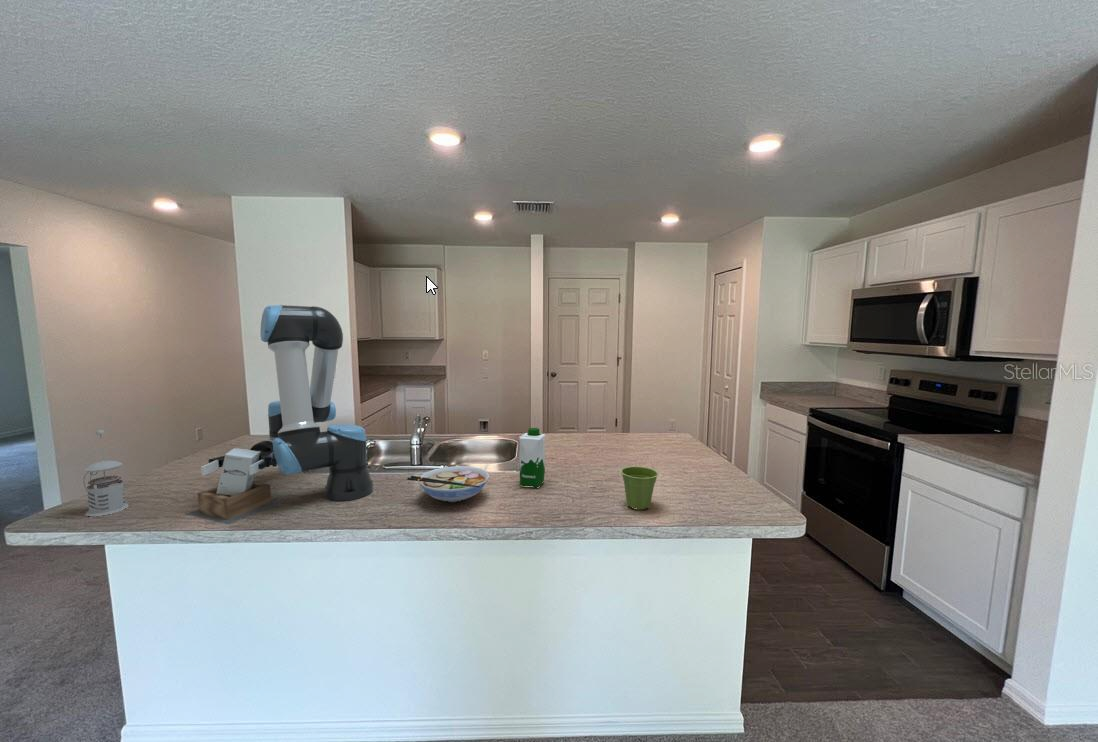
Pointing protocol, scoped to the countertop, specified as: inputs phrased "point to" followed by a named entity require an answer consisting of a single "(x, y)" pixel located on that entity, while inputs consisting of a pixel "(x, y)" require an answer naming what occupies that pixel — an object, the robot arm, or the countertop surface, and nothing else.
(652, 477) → the plant pot
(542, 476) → the milk carton
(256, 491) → the tray
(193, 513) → the mat
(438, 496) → the ramen bowl
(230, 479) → the supplement box
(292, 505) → the countertop surface
